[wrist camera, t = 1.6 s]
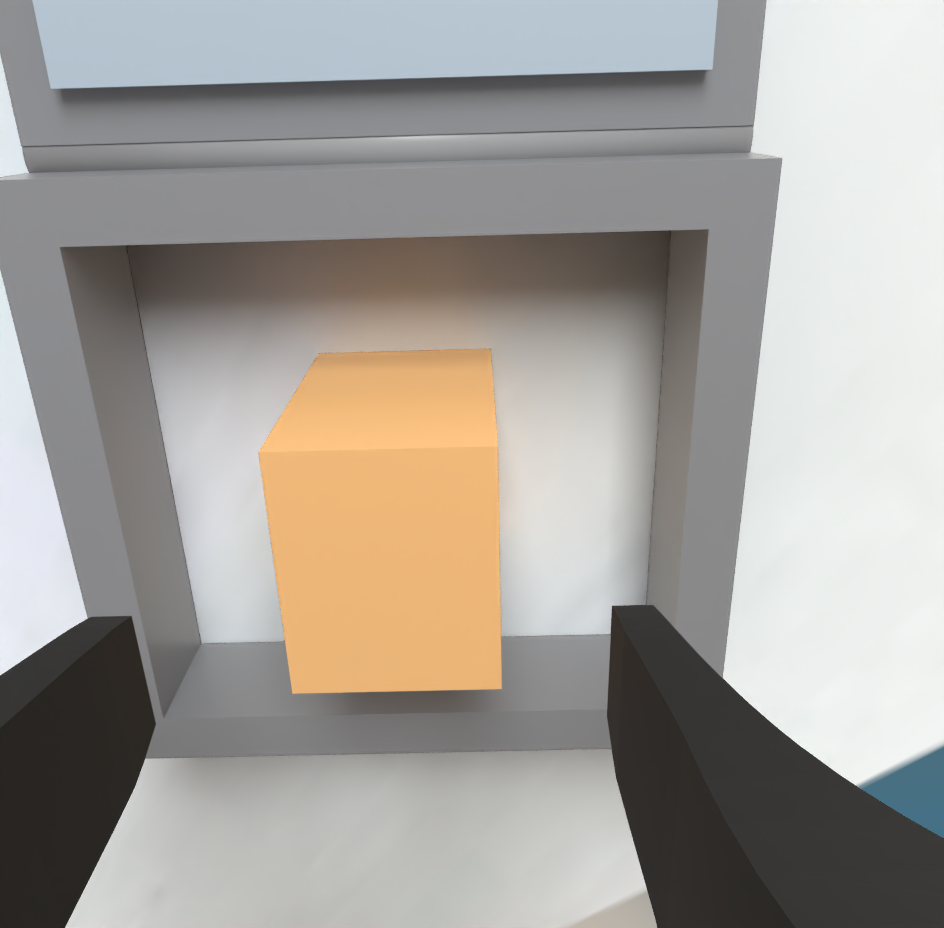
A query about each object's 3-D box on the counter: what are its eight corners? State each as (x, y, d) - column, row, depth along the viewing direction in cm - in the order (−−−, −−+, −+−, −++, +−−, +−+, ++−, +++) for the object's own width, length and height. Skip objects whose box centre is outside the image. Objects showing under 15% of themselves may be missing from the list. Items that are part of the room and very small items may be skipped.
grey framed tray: (164, 680, 23) (122, 759, 20) (-174, -902, 12) (-368, -1205, 9) (685, 669, 23) (714, 746, 20) (835, -945, 12) (945, -1267, 9)
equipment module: (339, 541, 21) (292, 693, 16) (318, 352, 19) (258, 452, 14) (494, 537, 21) (501, 689, 16) (490, 348, 19) (497, 446, 14)
